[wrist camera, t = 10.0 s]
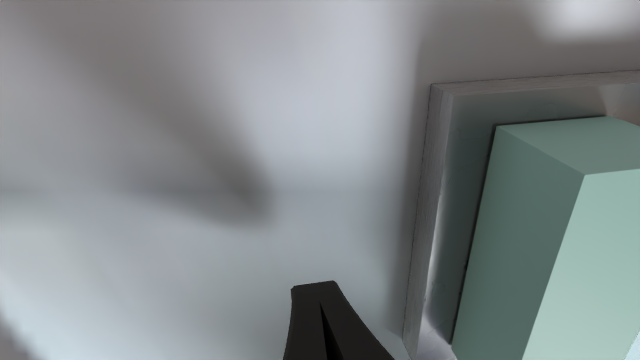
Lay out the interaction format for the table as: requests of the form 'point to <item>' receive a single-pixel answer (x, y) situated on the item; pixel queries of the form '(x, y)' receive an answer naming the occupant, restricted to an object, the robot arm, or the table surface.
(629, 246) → the block
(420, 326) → the vise
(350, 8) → the table surface
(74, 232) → the table surface
